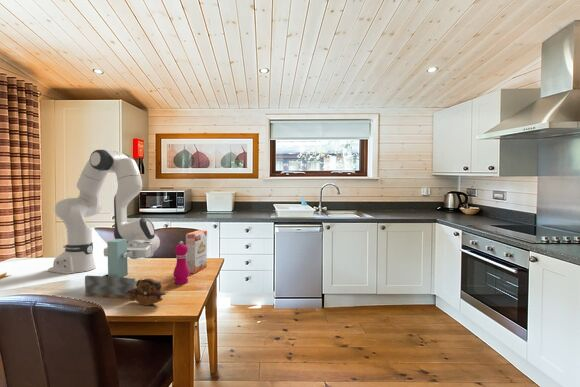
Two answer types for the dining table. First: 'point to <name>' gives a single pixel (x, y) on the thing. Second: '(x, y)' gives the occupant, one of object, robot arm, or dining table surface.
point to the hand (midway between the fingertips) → (116, 255)
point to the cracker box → (196, 250)
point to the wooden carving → (146, 292)
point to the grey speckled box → (108, 286)
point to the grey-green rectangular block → (117, 258)
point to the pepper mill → (181, 264)
